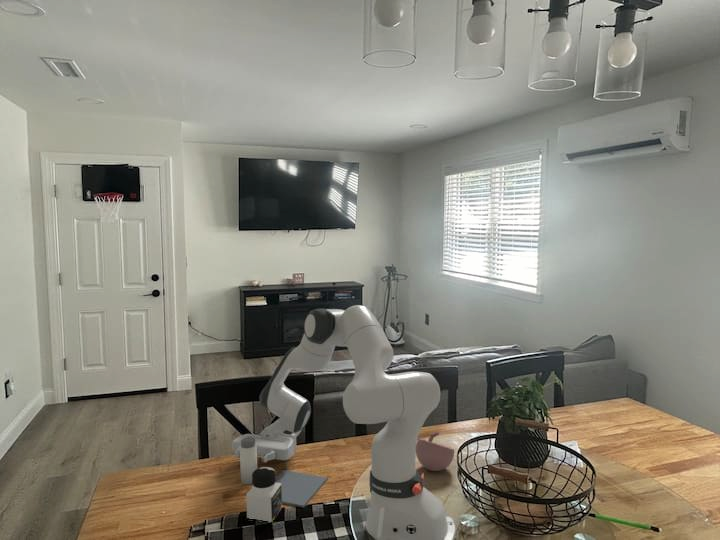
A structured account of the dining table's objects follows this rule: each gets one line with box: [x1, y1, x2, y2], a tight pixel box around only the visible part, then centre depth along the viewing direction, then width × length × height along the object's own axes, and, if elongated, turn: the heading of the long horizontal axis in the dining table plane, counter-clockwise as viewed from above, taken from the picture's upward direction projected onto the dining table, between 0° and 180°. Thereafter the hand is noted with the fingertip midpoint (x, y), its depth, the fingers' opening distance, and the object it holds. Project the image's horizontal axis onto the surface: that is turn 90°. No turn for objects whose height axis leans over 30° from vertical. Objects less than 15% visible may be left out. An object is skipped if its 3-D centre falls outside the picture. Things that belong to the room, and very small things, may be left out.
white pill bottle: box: [239, 437, 258, 485], centre depth 145 cm, size 5×5×12 cm
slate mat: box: [275, 469, 329, 508], centre depth 140 cm, size 15×16×1 cm
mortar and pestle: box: [416, 431, 455, 472], centre depth 150 cm, size 12×12×11 cm
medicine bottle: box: [245, 466, 283, 523], centre depth 127 cm, size 7×7×12 cm
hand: (249, 457), depth 145 cm, fingers open, 8 cm apart
